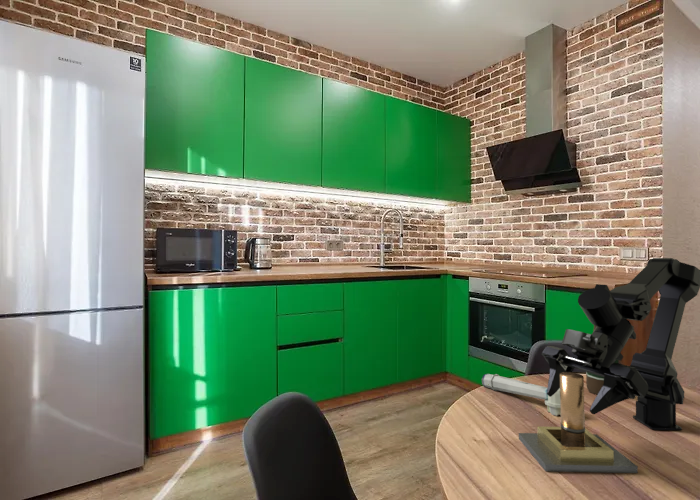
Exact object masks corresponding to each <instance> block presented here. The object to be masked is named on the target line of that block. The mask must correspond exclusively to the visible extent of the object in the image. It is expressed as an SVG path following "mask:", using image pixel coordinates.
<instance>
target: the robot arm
mask: <svg viewBox="0 0 700 500" xmlns="http://www.w3.org/2000/svg"><path fill="white" fill-rule="evenodd" d="M646 264H647V265H645V267H644V268H643V269H641V270H640V272H638V274H636V275H635V276H634V278H632V279H631V281H629V282H628V283H627V284H624V285H621V286H617V287H614V288H612V289H611V290H610V288H609V286H608V284H601V283H600V284H599V283H598V284H597V283H596V284H595V286H594V287H592V288H589V289H587V290H585V291H584V292H582V293H580V294H579V296H578V297H577V304H578V305H579V306H580V308H581V309H582V311H583V313H584V314H585V316H586V318H587V319H588V321H589V322H590V323H591V324H592V325H593V326H594V325H595V326H597V327H596V328H595V330H594V329H593V330H592V331H593V332H592V333H586V332H584V331H579V330H574V329H569V328H566V329H565V331H564V335H563V338H562V341H561V345H563V346H566V347H569V348H571V349H572V350H571V353H572V354H573V355H574V356H576V358H573V357H572V356H570V355H569V354H568V353H567V351H566V349H565V348H561V347H557V346H553V345H546V346H545V347H544V349H543V351H542V352H541V356H542V357H543V358H544V360H545V361H546V362H547V363H548V366H549V374H548V375H549V376H548V382H547V386H546V387H547V395H548V396H550V397H551V396H552V395H554V394H555V393H556V392H557V391H558V390H559V389H560V373H562V372H572V373H573V372H574V370H579V371H582V372H588V373H591V374H595V375H598V376H601V377H604V383H603V386H602V388H601V390H600V391H599V393H598V395H595V398H594V400H593V402H592V403H591V405H590V407H589V412H590V413H591V414H592V415H596V414H598V413H600V412H602V411H604V410H606V409H608V408H610V407H611V406H614V405H616V404H618V403H622V402H624V401H626V400H628V399H631V400H635V398H636V397H637V400H636V401H635V414H634V415H632V418H633V419H634V420H636V421H637V422H639V423H641V424H643V425H644V426H646V427H647V428H649V429H650V430H654V431H657V430H658V431H659V430H660V431H682V430H683V428H682V426H680V425H679V424H677V405H684V400H685V389H684V388H683V386H682V385H681V383H680V381H679V379H678V371H677V369H676V367H675V365H674V363H673V361H672V359H673V356H674V355H673V354H674V350H675V346H676V344H677V343H676V342H677V338H678V334H679V331H680V326H681V324H682V319H683V316H684V315H683V314H684V311H685V307H686V304H687V303H688V302H690V301H691V300H692V299H694V298H695V297H696V296H698V294H699V291H700V269H699V268H698V267H696V266H695V265H691V264H689V263H685V262H683V261H682V262H681V261H679V260H678V259H676V258H674V257H653V258H650V259H648V261H647V263H646ZM657 292H659V295H660V297H659V300H658V304H657V308H656V311H655V315H654V317H653V321H652V326H651V330H650V332H649V336H648V340H647V344H646V347H645V350H643V351H642V352H635V353H634V354H633V355H632V359H631V363H630V365H626V364H621V363H619V362H618V363H615V361H616V360H618V361H620V362H622V360H623V359H624V354H622V351H623V349H624V347H625V345H626V344H627V342H629V341H628V340H629V339H631V340H636V339H637V333H636V332H635V327H634V325H632V323H631V322H630V321H631V320H632V321H637V322H643V321H644V320H645V319H646V318H647V317H648V316H649V315H650V312H651V310H652V304H651V299H652V298H653V297H654V296H655V295H656V294H657Z"/></svg>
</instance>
